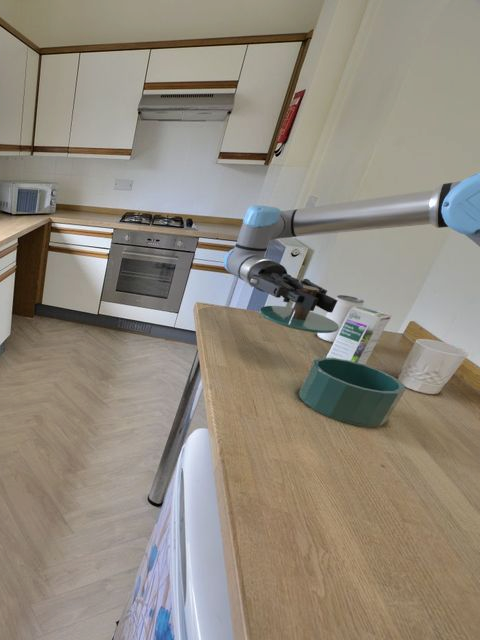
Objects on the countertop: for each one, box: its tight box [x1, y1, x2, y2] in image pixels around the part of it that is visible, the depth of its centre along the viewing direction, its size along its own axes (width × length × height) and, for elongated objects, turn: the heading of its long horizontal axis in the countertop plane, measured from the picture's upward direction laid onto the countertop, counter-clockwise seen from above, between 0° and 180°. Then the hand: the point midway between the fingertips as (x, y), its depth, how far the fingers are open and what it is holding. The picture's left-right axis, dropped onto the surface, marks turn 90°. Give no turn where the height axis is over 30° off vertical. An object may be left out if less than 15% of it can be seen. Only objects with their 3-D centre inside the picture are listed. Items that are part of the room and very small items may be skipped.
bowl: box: [298, 357, 406, 428], centre depth 81 cm, size 14×14×8 cm
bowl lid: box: [259, 286, 339, 334], centre depth 91 cm, size 15×15×8 cm
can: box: [316, 294, 365, 344], centre depth 112 cm, size 6×6×12 cm
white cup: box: [396, 338, 469, 395], centre depth 90 cm, size 8×8×10 cm
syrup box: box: [325, 305, 393, 365], centre depth 96 cm, size 6×6×14 cm
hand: (323, 305), depth 86 cm, fingers closed on bowl lid, 3 cm apart
